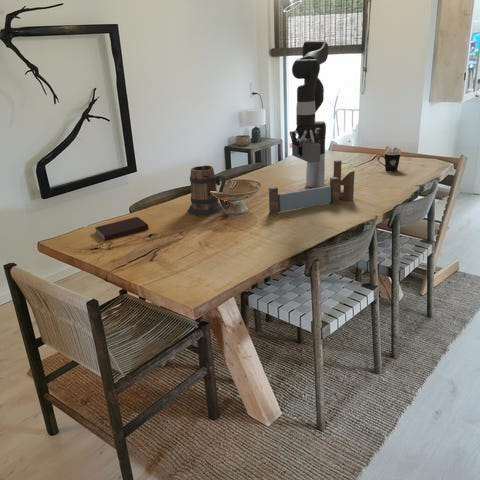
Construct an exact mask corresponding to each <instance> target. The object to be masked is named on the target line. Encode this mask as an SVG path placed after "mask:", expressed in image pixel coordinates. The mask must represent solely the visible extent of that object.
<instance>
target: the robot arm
mask: <svg viewBox="0 0 480 480" xmlns="http://www.w3.org/2000/svg"><path fill="white" fill-rule="evenodd" d="M328 56H329V44H328V42H327V41H325V40H306V41H304V42H303V45H302V57H299V58H297V59H296V60H295V61H294V62H293V63H292V67H291V73H292V75H293V77H294V78H295V79H298V80H304V81H303V84H302V85H299V86H298V87H297V88H296V111H295V112H296V123H295V124H296V128H295V130H293V131H292V130H291V131H290V132H289V135H290V140H291V145H292V144H293V145H295V146H297V154H298V155H299V156H302V143H303V142H304V139H307V140H309V141H313V142H316V143H318V144H320V162H314V163H309V162H307V161H306V169H305V170H306V173H305V174H306V175H305V177H306V181H305V182H306V183H305V184H306V186H307V187H308V188H313V189H314V188H320V187H325V174H326V173H325V171H326V169H325V168H326V166H325V165H326V163H325V162H326V137H327V136H326V135H327V125H326V122H325V121H321V120H319V121H316V112H318V110H319V109H320V107H321V106H322V104H323V103H324V99H325V97H324V95H325V88H324V85H323V83H322V81H321V79H320V78H319V74H320V72H321V71H320V70H321V65H322V64H324V63H326V61H327V60H328ZM296 138H298V139H296ZM297 140H298V141H297Z"/></svg>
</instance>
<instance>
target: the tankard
mask: <svg viewBox="0 0 480 480" xmlns="http://www.w3.org/2000/svg"><path fill="white" fill-rule="evenodd" d="M226 179H227V178H226V177H225V175H223V174H219V175H216V174H215V169H214V167H213V166H211V165H208V164H207V165H206V164H205V165H201V166H200V165H199V166H193V167H191V168H190V176H189V181H190V195H191V196H190V202H191V203H190V206H189V208H188V209H187V213H188V214H190V215H192V216H199V217H200V216H202V217H203V216H211V215H216V214H218V213H221V212H222V211H223V210H228V208H229V207H230V205H231V204H230V202H228V201H226V200H225V199H224V200H221V199H219V197H218V198H216V197H215V196H213V195H212V194H211V193H210V191H217V192H218V193H219V192H223V191H224V188H225V185H226V181H227V180H226ZM217 186H220V187H219V189H217ZM227 202H228V203H227ZM228 204H229V205H228ZM226 205H227V206H228V207H227V206H226ZM230 208H231V207H230ZM230 208H229V209H230Z"/></svg>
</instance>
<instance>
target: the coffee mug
mask: <svg viewBox="0 0 480 480" xmlns="http://www.w3.org/2000/svg"><path fill="white" fill-rule="evenodd" d="M401 154H402V153H401V152H399V151H386V152H384V155H379V156H378V157H377V161H378V162H379V164H381V165H383V166H384V169H385V172H387V171H391V172H390V173H394V172H393V171H396V172H398V169H399V163H400V158H401ZM381 157H382V158H383V159H384V163H382V162H381V161H380V158H381Z"/></svg>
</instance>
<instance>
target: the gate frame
mask: <svg viewBox="0 0 480 480" xmlns="http://www.w3.org/2000/svg"><path fill="white" fill-rule="evenodd" d="M329 186H331V203H330V204H331V205H336V204H339V200H340V199H339V178H337V177H333V176H332V177H330V178H329ZM278 194H279V188H278V187H277V186H269V187H268V204H269V209H268V210H269V214H270V213H271V214H270V215H272V216H274V214H275V215H279V212H278Z"/></svg>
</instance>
